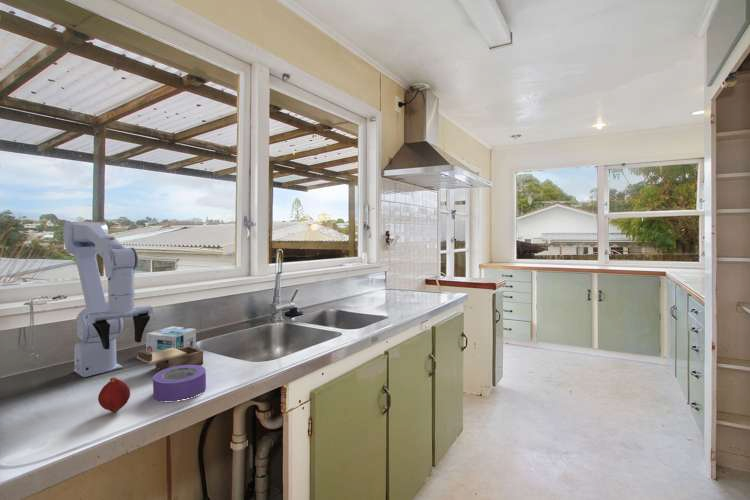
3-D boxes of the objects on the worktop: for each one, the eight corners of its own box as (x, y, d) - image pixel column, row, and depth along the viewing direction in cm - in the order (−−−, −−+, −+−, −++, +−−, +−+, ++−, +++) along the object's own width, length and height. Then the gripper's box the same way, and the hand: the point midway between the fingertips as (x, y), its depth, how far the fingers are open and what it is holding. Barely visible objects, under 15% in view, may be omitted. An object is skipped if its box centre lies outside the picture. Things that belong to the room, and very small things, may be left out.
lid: (150, 364, 102) (149, 355, 102) (136, 358, 107) (136, 349, 107) (186, 354, 110) (186, 346, 110) (173, 349, 115) (172, 341, 115)
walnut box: (169, 373, 106) (169, 359, 106) (155, 367, 111) (155, 354, 111) (203, 364, 114) (203, 351, 114) (189, 358, 119) (189, 346, 119)
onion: (109, 406, 87) (108, 371, 86) (135, 405, 87) (135, 371, 87) (92, 418, 81) (91, 382, 81) (121, 417, 82) (120, 381, 81)
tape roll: (178, 406, 87) (178, 385, 87) (141, 398, 91) (141, 377, 91) (216, 387, 98) (216, 368, 98) (182, 380, 103) (181, 362, 102)
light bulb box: (196, 328, 130) (172, 336, 120) (196, 347, 130) (172, 357, 120) (171, 325, 133) (144, 333, 123) (171, 344, 133) (145, 353, 123)
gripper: (94, 299, 91) (95, 355, 92) (157, 292, 103) (158, 341, 104) (83, 296, 95) (85, 349, 96) (145, 289, 107) (146, 336, 108)
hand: (122, 345), depth 100 cm, fingers open, 7 cm apart
